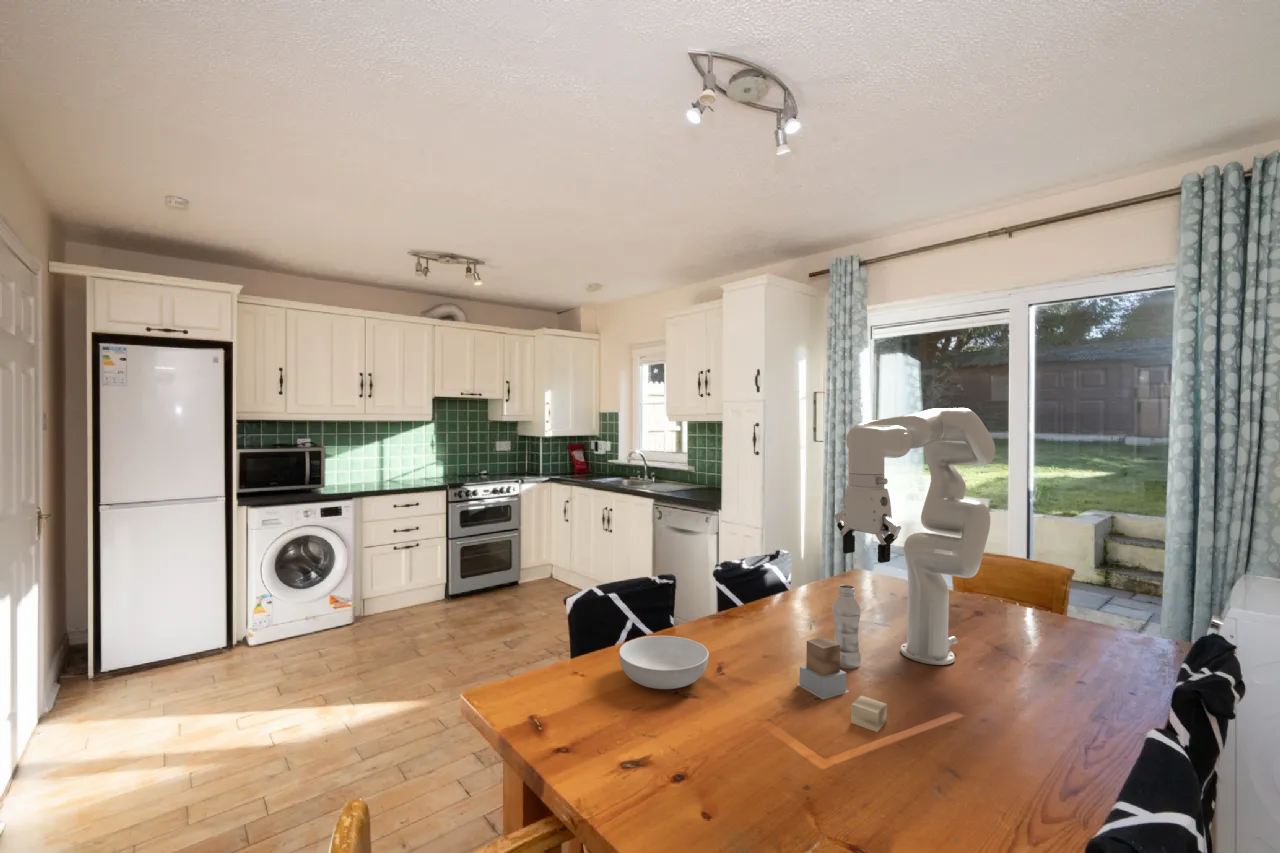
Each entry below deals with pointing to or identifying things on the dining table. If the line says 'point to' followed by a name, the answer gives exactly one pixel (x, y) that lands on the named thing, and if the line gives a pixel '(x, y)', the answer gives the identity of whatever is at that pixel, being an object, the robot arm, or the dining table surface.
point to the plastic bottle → (847, 626)
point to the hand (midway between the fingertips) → (865, 557)
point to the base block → (823, 682)
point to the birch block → (869, 713)
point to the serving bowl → (663, 661)
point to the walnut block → (823, 656)
